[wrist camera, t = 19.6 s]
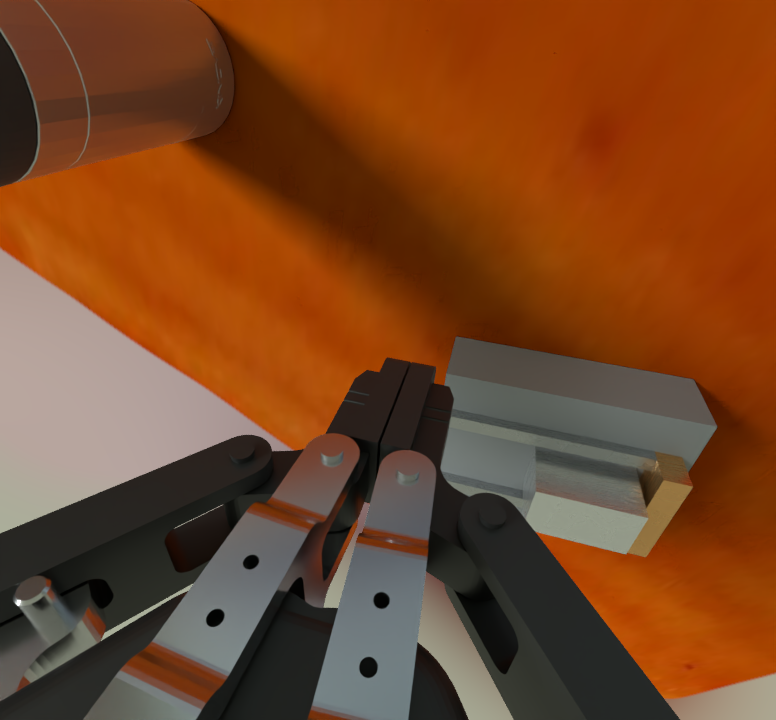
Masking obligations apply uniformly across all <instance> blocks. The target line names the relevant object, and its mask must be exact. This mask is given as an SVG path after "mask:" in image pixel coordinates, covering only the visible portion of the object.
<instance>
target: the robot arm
mask: <svg viewBox="0 0 776 720" xmlns="http://www.w3.org/2000/svg"><path fill="white" fill-rule="evenodd" d="M233 96H234V73H233V68H232V63H231V59H230V56H229V53H228V50H227V47H226V45H225V42H224V41H223V39H222V37H221V35H220V33H219V31H218V29H217V28H216V27H215V25H214V24H213V23H212V21H211V20H210V19H209V17H208V16H207V15H206V14H205V13H204V12H203V11H202V10H201V9H200V8H198V7H197V6H196V5H195V4H193V3H192V2H190V1H188V0H0V187H1V186H4V185H8V184H12V183H16V182H20V181H24V180H28V179H32V178H36V177H40V176H44V175H48V174H52V173H56V172H59V171H63V170H67V169H71V168H75V167H79V166H83V165H87V164H91V163H95V162H99V161H103V160H107V159H111V158H115V157H119V156H123V155H127V154H131V153H135V152H139V151H144V150H148V149H152V148H156V147H160V146H164V145H168V144H172V143H177V142H181V141H185V140H189V139H193V138H197V137H201V136H205V135H207V134H209V133H212V132H214V131H215V130H216V129H218V128H219V127H220V126H221V125H222V124H223V122H224V121H225V119H226V118H227V116H228V114H229V112H230V109H231V106H232V103H233ZM435 372H436V367H434V366H429V365H424V364H419V363H414V362H412V363H411V362H408V361H403V360H398V359H393V358H388V357H387V358H386V360H385V362H384V364H383V366H382V368H381V370H380V372H374V371H369V370H366V371H365V372H364V373H362V374H361V375H360V376H358V377H357V378H355V380H354V382H353V384H352V385H351V387H350V389H349V392H348V393H347V395H346V397H345V398H344V401H343V402H342V404H341V406H340V408H339V410H338V411H337V413H336V415H335V417H334V419H333V421H332V423H331V424H330V426H329V428H328V430H327V432H326V434H324V435H320V436H318V437H316V438H314V439H313V440H312V441H310V442H309V443H308V445H307V446H306V447H305V449H302V450H296V451H272V449H271V446H270V444H269V443H268V442H267V441H266V440H265V439H263V438H261V437H258V436H254V435H241V436H237V437H234V438H231V439H229V440H226V441H224V442H221V443H219V444H217V445H214V446H212V447H209V448H207V449H204V450H202V451H200V452H197V453H195V454H192V455H190V456H187V457H185V458H183V459H180V460H178V461H175V462H173V463H171V464H168V465H166V466H163V467H161V468H158V469H156V470H153V471H151V472H149V473H146V474H144V475H141V476H139V477H136V478H134V479H132V480H129V481H127V482H124V483H122V484H120V485H117V486H115V487H112V488H110V489H107V490H105V491H103V492H100V493H98V494H95V495H93V496H90V497H88V498H85V499H83V500H81V501H78V502H76V503H73V504H71V505H69V506H66V507H64V508H61V509H59V510H56V511H54V512H52V513H49V514H47V515H44V516H42V517H39V518H37V519H34V520H32V521H30V522H27V523H25V524H22V525H20V526H17V527H15V528H13V529H10V530H8V531H5V532H3V533H1V534H0V720H469V719H468V717H467V715H466V712H465V710H464V708H463V705H462V703H461V701H460V698H459V696H458V694H457V692H456V690H455V687H454V685H453V684H452V682H451V680H450V679H449V677H448V675H447V673H446V672H445V671H444V669H443V668H442V667H441V665H440V664H439V663H438V661H437V660H436V659H435V658H434V657H433V656H432V655H431V654H430V653H429V651H427V650H426V649H425V648H424V647H423V646H422V645H420V644H419V643H418V642H417V641H418V633H419V625H420V615H421V608H422V599H423V591H424V582H425V574H426V571H427V572H428V573H430V574H431V575H433V576H434V577H436V578H437V579H439V580H440V581H442V582H443V583H444V584H445V589H446V592H447V594H448V596H449V598H450V600H451V602H452V604H453V606H454V608H455V610H456V611H457V613H458V615H459V617H460V619H461V621H462V623H463V625H464V627H465V628H466V630H467V632H468V634H469V636H470V638H471V640H472V642H473V644H474V645H475V647H476V649H477V651H478V653H479V655H480V656H481V659H482V660H483V662H484V664H485V666H486V668H487V670H488V672H489V674H490V675H491V677H492V679H493V681H494V683H495V685H496V687H497V689H498V690H499V692H500V694H501V696H502V698H503V700H504V702H505V704H506V706H507V707H508V709H509V711H510V713H511V715H512V717H513V719H514V720H680V719H679V718H678V716H677V715H676V714H675V712H674V711H673V710H672V709H671V707H670V706H669V705H668V703H667V702H666V701H665V699H664V698H663V697H662V696H661V694H660V693H659V692H658V690H657V689H656V688H655V686H654V685H653V684H652V683H651V681H650V680H649V679H648V677H647V676H646V675H645V674H644V672H643V671H642V670H641V668H640V667H639V666H638V664H637V663H636V662H635V661H634V659H633V658H632V657H631V655H630V654H629V653H628V651H627V650H626V649H625V648H624V646H623V645H622V644H621V642H620V641H619V640H618V639H617V637H616V636H615V635H614V633H613V632H612V631H611V629H610V628H609V627H608V626H607V624H606V623H605V622H604V620H603V619H602V618H601V617H600V615H599V614H598V613H597V611H596V610H595V609H594V607H593V606H592V605H591V604H590V602H589V601H588V600H587V598H586V597H585V596H584V594H583V593H582V592H581V591H580V589H579V588H578V587H577V585H576V584H575V583H574V582H573V580H572V579H571V578H570V576H569V575H568V574H567V572H566V571H565V570H564V569H563V567H562V566H561V565H560V563H559V562H558V561H557V560H556V558H555V557H554V556H553V554H552V553H551V552H550V550H549V549H548V548H547V547H546V545H545V544H544V543H543V541H542V540H541V539H540V537H539V536H538V535H537V534H536V532H535V531H534V530H533V528H532V527H531V526H530V525H529V523H528V522H527V521H526V519H525V518H524V517H523V515H522V514H521V513H520V512H519V510H518V509H517V508H516V507H515V506H514V505H513V504H512V503H511V502H510V501H509V500H507V499H506V498H504V497H502V496H499V495H496V494H493V493H477V494H474V495H472V496H470V497H469V496H467V495H465V494H463V493H462V492H460V491H458V490H457V489H455V488H454V487H452V486H451V485H450V484H449V483H448V482H447V481H446V479H445V478H444V476H443V474H442V472H441V463H442V459H443V454H444V449H445V445H446V440H447V436H448V430H449V425H450V419H451V414H452V408H453V403H454V397H453V394H452V392H451V389H450V387H449V386H444V385H439V384H434V379H435ZM364 502H367V503H370V506H369V509H368V513H367V517H366V521H365V524H364V528H363V532H362V533H360V534H359V535H358V538H357V541H356V544H355V547H354V551H353V555H352V558H351V562H350V566H349V570H348V573H347V577H346V581H345V585H344V589H343V592H342V596H341V599H340V603H339V607H338V608H323V607H324V602H325V598H326V594H327V591H328V589H329V586H330V584H331V582H332V580H333V577H334V575H335V573H336V571H337V569H338V567H339V564H340V562H341V560H342V558H343V556H344V553H345V552H346V549H347V547H348V545H349V543H350V541H351V539H352V536H353V534H354V532H355V530H356V528H357V523H358V517H359V515H360V512H361V510H362V507H363V504H364ZM222 504H223V505H222ZM220 505H222V506H220ZM218 506H220V507H218ZM216 507H218V508H216ZM214 508H216V509H214ZM212 509H214V510H212ZM210 510H212V511H210ZM208 511H210V512H208ZM206 512H208V513H206ZM204 513H206V514H204ZM202 514H204V515H202ZM200 515H202V516H200ZM198 516H200V517H198ZM196 517H198V518H196ZM193 518H196V519H194V520H192V521H190V522H187V521H189V520H191V519H193ZM185 522H187V523H185ZM183 523H185V524H183ZM181 524H183V525H181ZM179 525H181V526H180V527H177V526H179ZM175 527H177V528H175ZM174 528H175V529H174ZM194 582H195V583H194ZM193 583H194V584H193ZM191 584H193V585H192V587H191V588H190V590H189V591H187V592H185V593H183V594H180V595H178V596H176V597H174V598H172V599H171V600H169V601H167V602H166V603H164V604H162V605H161V606H159V607H157V608H156V609H154V610H152V611H151V612H149V613H147V614H146V615H144V616H142V617H141V618H139V619H137V620H136V621H134V622H132V623H130V624H129V625H127V626H126V627H124V628H122V629H120V630H119V631H117V632H115V633H114V634H112V635H110V636H109V637H107V638H105V639H104V640H102V641H101V639H102V637H103V635H104V633H105V632H107V631H108V630H110V629H112V628H114V627H116V626H117V625H119V624H121V623H123V622H124V621H126V620H128V619H130V618H132V617H133V616H135V615H137V614H139V613H141V612H142V611H144V610H146V609H148V608H150V607H151V606H153V605H155V604H157V603H159V602H160V601H162V600H164V599H166V598H168V597H169V596H171V595H173V594H175V593H176V592H178V591H180V590H182V589H184V588H185V587H187V586H189V585H191Z"/></svg>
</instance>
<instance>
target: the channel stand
mask: <svg viewBox="0 0 776 720" xmlns="http://www.w3.org/2000/svg"><path fill="white" fill-rule="evenodd" d="M444 386H449V387H450V389H451V392H452V394H453V397H454V403H453V408H452V414H451V419H450V425H449V430H448V436H447V440H446V445H445V449H444V454H443V459H442V463H441V472H442V474H443V476H444V478H445V479H446V481H447V482H448V483H449V484H450V485H451V486H452V487H454V488H455V489H457V490H458V491H460V492H462V493H463V494H465V495H467V496H469V497H470V496H472V495H474V494H477V493H493V494H496V495H499V496H502V497H504V498H506V499H507V500H509V501H510V502H511V503H512V504H513V505H514V506H515V507H516V508H517V509H518V510H519V512H520V513H521V514H522V509H523V480H524V477H525V474H526V472H527V469H528V466H529V463H530V460H531V457H532V454H533V451H534V448H535V446H538V447H543V448H547V449H552V450H557V451H561V452H566V453H570V454H575V455H580V456H584V457H589V458H593V459H598V460H603V461H607V462H612V463H616V464H621V465H626V466H630V467H635V468H636V470H637V474H638V478H639V482H640V486H641V490H642V494H643V498H644V502H645V506H646V510H647V513H648V517H649V518H648V520H647V522H646V523H645V525H644V526H643V528H642V530H641V531H640V533H639V534H638V536H637V538H636V539H635V541H634V542H633V544H632V546H631V547H630V549H629V550H628V552H627V553H630V554H634V555H639V556H643V557H646V556H647V555H648V553H649V552H650V550H651V549H652V547H653V546H654V544H655V543H656V541H657V540H658V538H659V537H660V535H661V534H662V532H663V531H664V530H665V528H666V527H667V525H668V524H669V522H670V521H671V519H672V518H673V516H674V515H675V513H676V512H677V510H678V509H679V507H680V506H681V504H682V503H683V501H684V500H685V498H686V497H687V495H688V494H689V492H690V491H691V489H692V488H693V485H692V482H691V479H690V477H689V474H688V472H689V470H690V469H691V467H692V466H693V464H694V463H695V461H696V460H697V458H698V456H699V455H700V453H701V452H702V450H703V449H704V447H705V446H706V444H707V442H708V441H709V439H710V438H711V436H712V435H713V433H714V432H715V430H716V429H717V425H716V423H715V421H714V419H713V417H712V415H711V413H710V411H709V409H708V407H707V405H706V403H705V401H704V399H703V397H702V395H701V393H700V391H699V389H698V387H697V385H696V383H695V381H694V379H689V378H683V377H678V376H672V375H667V374H661V373H656V372H650V371H645V370H639V369H633V368H628V367H622V366H617V365H611V364H606V363H600V362H595V361H589V360H584V359H578V358H573V357H567V356H562V355H556V354H551V353H545V352H540V351H534V350H529V349H523V348H518V347H512V346H507V345H501V344H496V343H490V342H485V341H479V340H474V339H468V338H462V337H457V336H456V339H455V343H454V347H453V350H452V354H451V358H450V362H449V366H448V370H447V373H446V379H445V385H444Z"/></svg>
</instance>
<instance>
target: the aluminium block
mask: <svg viewBox="0 0 776 720" xmlns="http://www.w3.org/2000/svg"><path fill="white" fill-rule="evenodd" d="M522 515H523V517H524V518H525V519H526V521H527V522H528V523H529V525H530V526H531V527H532V528H533V530H534V531H535V532H539V533H543V534H547V535H551V536H555V537H559V538H563V539H567V540H571V541H575V542H579V543H583V544H587V545H591V546H595V547H599V548H603V549H607V550H611V551H614V552H618V553H622V554H627V552H628V550H629V549H630V547H631V546H632V544H633V542H634V541H635V539H636V538H637V536H638V534H639V533H640V531H641V530H642V528H643V526H644V525H645V523H646V522H647V520H648V518H649V517H648V513H647V510H646V506H645V502H644V498H643V494H642V490H641V486H640V482H639V478H638V474H637V470H636V468H635V467H630V466H626V465H621V464H616V463H612V462H607V461H603V460H598V459H593V458H589V457H584V456H580V455H575V454H570V453H566V452H561V451H557V450H552V449H547V448H543V447H538V446H535V448H534V451H533V454H532V457H531V460H530V463H529V466H528V469H527V472H526V474H525V477H524V480H523V509H522Z"/></svg>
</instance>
